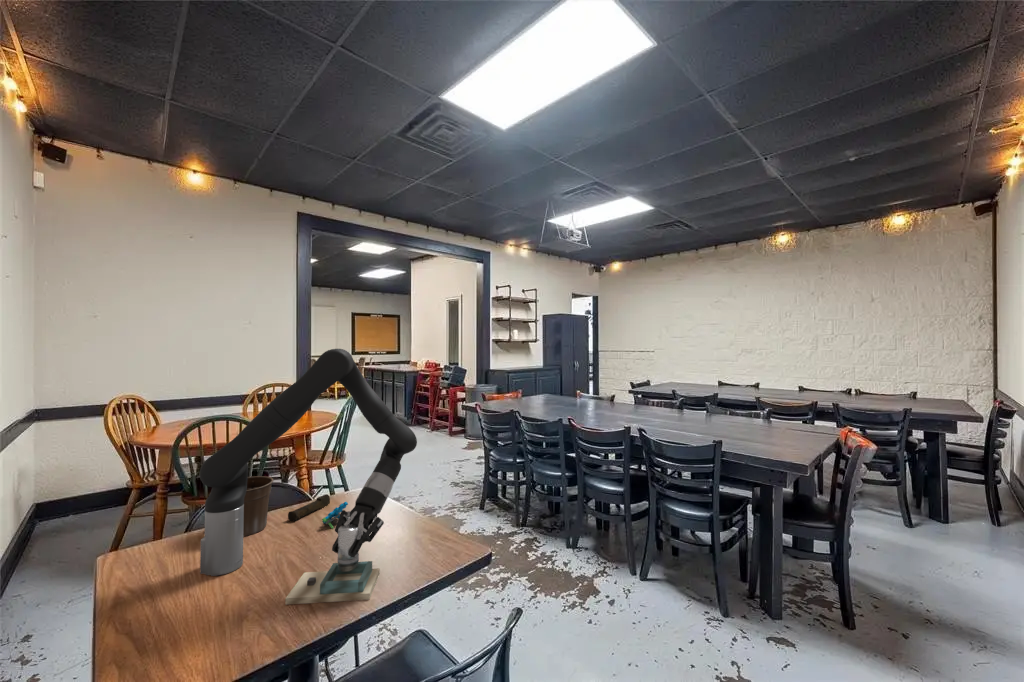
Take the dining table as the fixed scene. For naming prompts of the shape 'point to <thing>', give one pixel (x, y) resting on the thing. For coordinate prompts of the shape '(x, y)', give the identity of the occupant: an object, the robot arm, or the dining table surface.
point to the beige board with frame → (335, 585)
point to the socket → (347, 547)
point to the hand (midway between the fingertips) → (342, 553)
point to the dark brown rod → (309, 508)
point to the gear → (334, 514)
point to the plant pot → (256, 504)
